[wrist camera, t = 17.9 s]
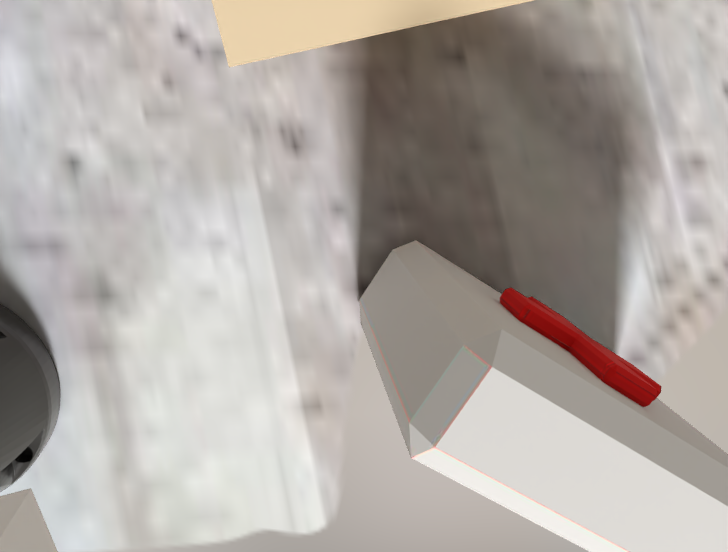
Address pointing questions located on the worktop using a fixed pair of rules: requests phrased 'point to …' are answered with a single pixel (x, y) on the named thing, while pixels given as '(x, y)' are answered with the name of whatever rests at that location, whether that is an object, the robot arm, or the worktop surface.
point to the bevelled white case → (538, 413)
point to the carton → (325, 22)
